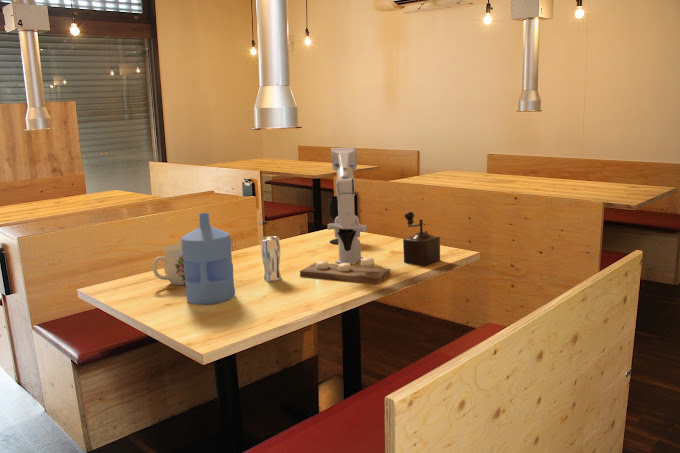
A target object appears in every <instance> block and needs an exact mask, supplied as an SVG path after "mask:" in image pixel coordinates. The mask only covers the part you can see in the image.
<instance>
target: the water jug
mask: <svg viewBox="0 0 680 453" xmlns="http://www.w3.org/2000/svg"><path fill="white" fill-rule="evenodd" d="M209 215H210V214H209V213H207V212H206V213H202V212H201V213H199V214H198V217H199V220H198V221H199V227H197V228H195V229H193V230H192V231H190V232H188V233H187V234H185V235H184V236H182V237H181V243H182V252H183V261H184V275H185V282H186V284H185V292H186V293H185V296H186V301H187V302H189V303H190V304H192V305H198V306H205V305H206V306H208V305H209V306H210V305H217V304H222V303H225V302H228V301H230V300H232V299H233V298H234V297H235V295H236V287H235V283H234V264H233V259H232V258H233V257H232V240H231V234H230V233H229V232H227V231H224V230H223V229H219V228H216V227H213V226H211V224H210V217H209Z"/></svg>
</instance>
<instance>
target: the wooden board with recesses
mask: <svg viewBox="0 0 680 453" xmlns="http://www.w3.org/2000/svg"><path fill="white" fill-rule="evenodd" d="M338 264H339V263H328V265H329V268H328V269H325V270H318V269H316V267H315V266H316V262H314V263H312V264H310V265H309V266H307V267H305V268H303V269H301V270H299V276H300V277H303V278H304V277H305V278H314V279H322V280H332V281H333V280H334V281H344V282H353V283H354V282H355V283H364V284H372V285H374V284H375V285H378V284H380V282H382V281H383V280H385V279H386V278H387V277H389V276H390V275H391V269H390V268H383V267H381V268H380V267H373V266H370V267H364V266H361V265H360V266H358V265H351V268H352V270H351V271H348V272H340V271H338ZM388 275H389V276H388Z"/></svg>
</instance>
